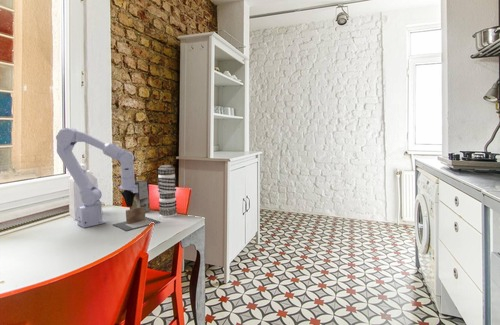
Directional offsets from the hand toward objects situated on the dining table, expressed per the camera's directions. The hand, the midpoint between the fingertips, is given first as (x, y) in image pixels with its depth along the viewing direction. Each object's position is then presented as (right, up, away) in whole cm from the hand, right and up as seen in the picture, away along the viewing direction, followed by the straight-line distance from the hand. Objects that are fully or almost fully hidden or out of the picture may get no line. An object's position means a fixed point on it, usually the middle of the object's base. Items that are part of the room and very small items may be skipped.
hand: (129, 206), depth 137 cm
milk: (-27, -6, +11) cm, 30 cm away
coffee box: (-2, -5, +18) cm, 19 cm away
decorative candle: (+15, -6, +10) cm, 19 cm away
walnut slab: (+4, -7, -3) cm, 8 cm away
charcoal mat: (+5, -7, -5) cm, 10 cm away
